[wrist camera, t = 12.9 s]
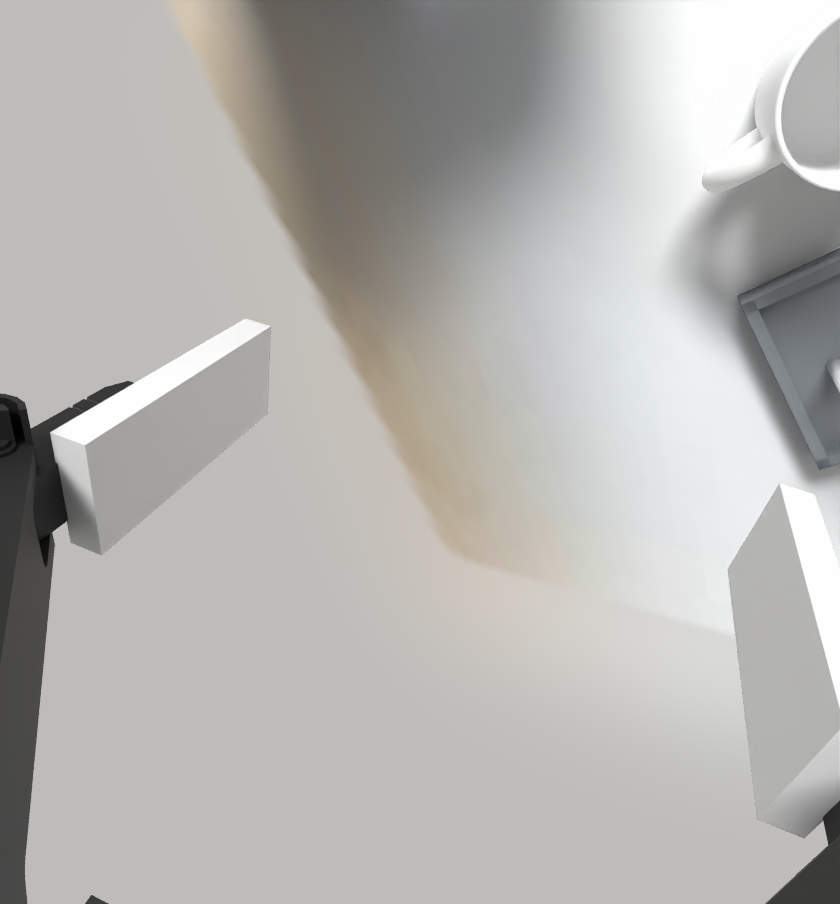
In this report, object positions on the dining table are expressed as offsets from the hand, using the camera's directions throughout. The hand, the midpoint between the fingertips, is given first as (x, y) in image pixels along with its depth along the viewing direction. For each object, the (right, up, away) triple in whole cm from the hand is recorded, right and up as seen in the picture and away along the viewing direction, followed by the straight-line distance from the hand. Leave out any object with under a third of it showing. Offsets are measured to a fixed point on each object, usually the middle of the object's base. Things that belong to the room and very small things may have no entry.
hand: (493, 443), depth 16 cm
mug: (+21, +20, +22) cm, 37 cm away
